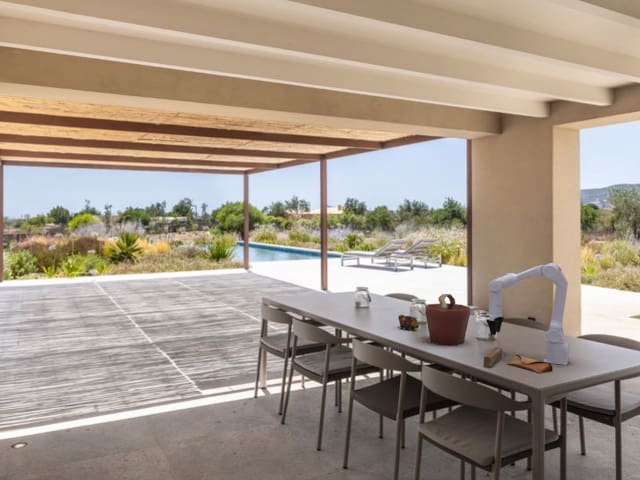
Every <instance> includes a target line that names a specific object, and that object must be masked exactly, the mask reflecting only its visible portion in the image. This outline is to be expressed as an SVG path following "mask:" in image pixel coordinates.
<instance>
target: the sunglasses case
mask: <svg viewBox="0 0 640 480" xmlns="http://www.w3.org/2000/svg"><path fill="white" fill-rule="evenodd" d="M505 365H507V366H512V367H515V368H518V369H521V370H526V371H530V372H532V373H536V374H539V375H541V374H542V375H543V374H545V373H551V372H553V370H554V369H553V365H552V363H547V362H544V360H543V361H542V360H538V359H534V358H531V357H526V356H523V355H520V354H515V356H514V357H513V358H512V359H511V360H510V361H508V362H507V363H506V364H505Z"/></svg>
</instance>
